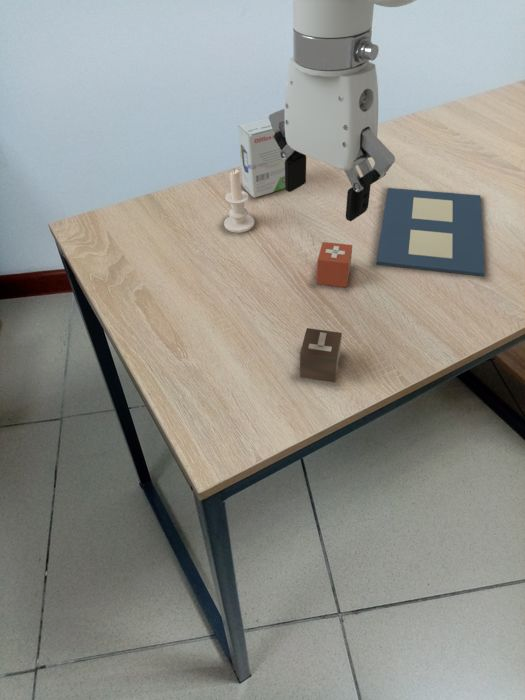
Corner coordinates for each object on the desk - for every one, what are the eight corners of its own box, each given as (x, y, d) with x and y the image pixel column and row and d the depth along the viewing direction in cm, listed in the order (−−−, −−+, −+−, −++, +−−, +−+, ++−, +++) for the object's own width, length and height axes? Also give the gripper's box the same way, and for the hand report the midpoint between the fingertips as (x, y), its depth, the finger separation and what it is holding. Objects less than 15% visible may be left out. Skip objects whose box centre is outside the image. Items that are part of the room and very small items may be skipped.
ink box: (253, 199, 97) (249, 136, 88) (241, 186, 100) (236, 124, 92) (294, 186, 99) (294, 123, 91) (281, 174, 102) (280, 112, 94)
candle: (219, 229, 91) (212, 173, 83) (232, 213, 94) (227, 158, 86) (246, 235, 89) (241, 179, 82) (259, 219, 92) (256, 163, 85)
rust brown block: (350, 268, 82) (352, 244, 79) (346, 287, 79) (348, 262, 76) (321, 265, 83) (322, 241, 79) (316, 283, 80) (317, 259, 77)
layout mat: (479, 198, 94) (480, 194, 93) (483, 276, 79) (485, 272, 79) (387, 190, 97) (388, 187, 96) (375, 264, 82) (376, 260, 82)
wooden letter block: (339, 356, 70) (342, 332, 66) (334, 382, 67) (336, 358, 63) (306, 351, 71) (306, 327, 67) (299, 377, 68) (299, 352, 64)
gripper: (428, 55, 49) (402, 214, 62) (293, 21, 58) (294, 166, 71) (379, 79, 46) (361, 242, 59) (243, 39, 55) (253, 188, 67)
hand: (324, 200), depth 65 cm, fingers open, 9 cm apart
